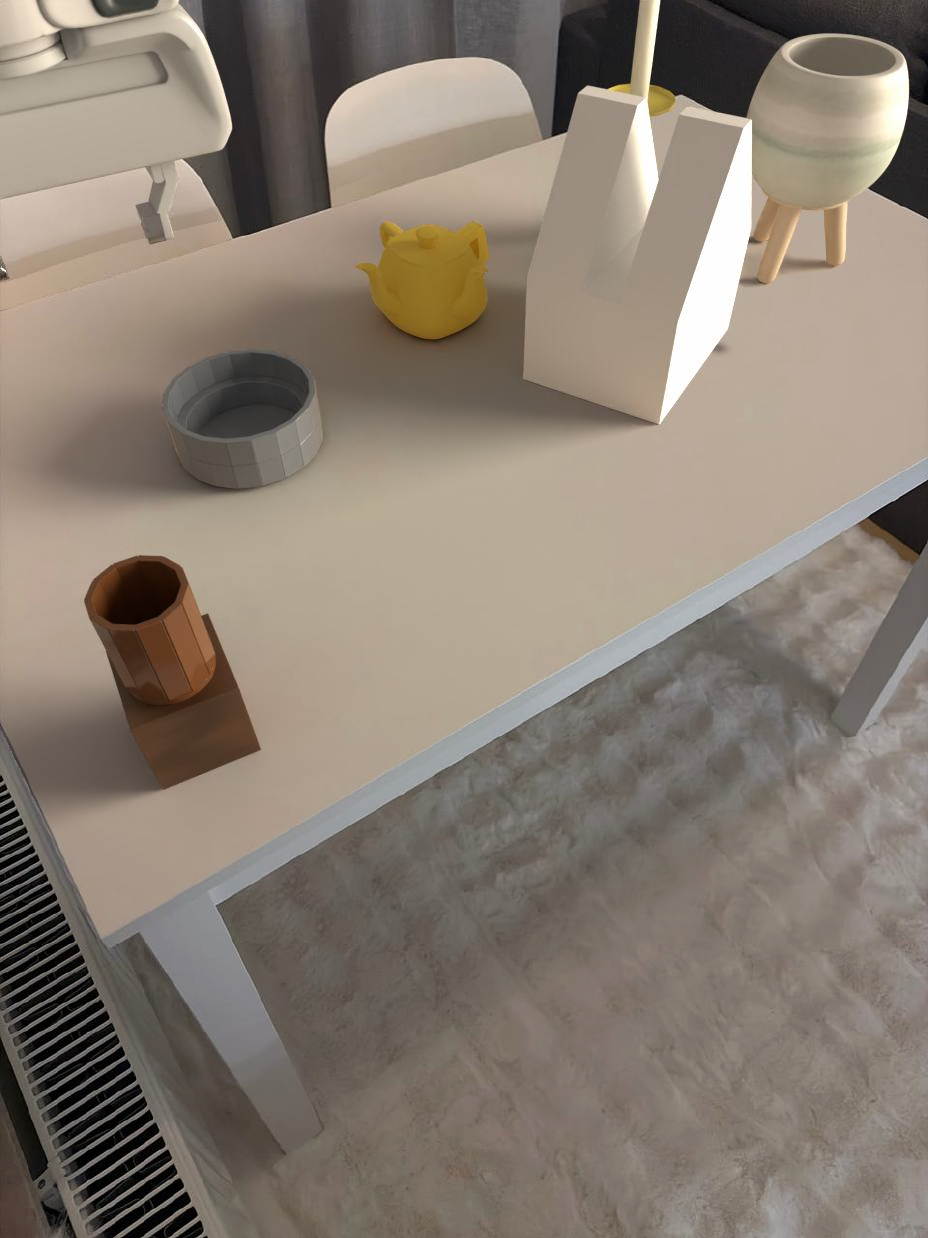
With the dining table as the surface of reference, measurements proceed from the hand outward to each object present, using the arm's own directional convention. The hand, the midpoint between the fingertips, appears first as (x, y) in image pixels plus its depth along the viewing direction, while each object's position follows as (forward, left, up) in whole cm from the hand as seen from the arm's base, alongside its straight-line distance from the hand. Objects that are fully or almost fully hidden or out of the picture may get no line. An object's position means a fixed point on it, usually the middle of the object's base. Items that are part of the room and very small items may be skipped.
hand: (79, 257), depth 53 cm
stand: (-4, -12, -31) cm, 34 cm away
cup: (-4, -12, -23) cm, 26 cm away
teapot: (+35, +30, -31) cm, 56 cm away
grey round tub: (+10, +18, -31) cm, 38 cm away
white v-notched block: (+51, +14, -31) cm, 61 cm away
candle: (+65, +37, -31) cm, 81 cm away
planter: (+78, +21, -31) cm, 87 cm away
